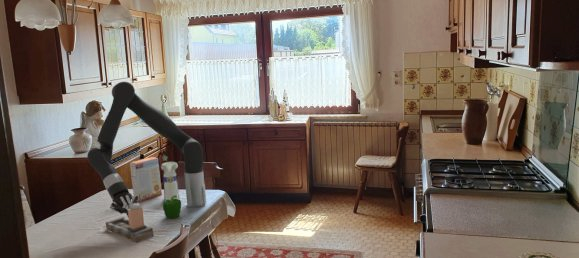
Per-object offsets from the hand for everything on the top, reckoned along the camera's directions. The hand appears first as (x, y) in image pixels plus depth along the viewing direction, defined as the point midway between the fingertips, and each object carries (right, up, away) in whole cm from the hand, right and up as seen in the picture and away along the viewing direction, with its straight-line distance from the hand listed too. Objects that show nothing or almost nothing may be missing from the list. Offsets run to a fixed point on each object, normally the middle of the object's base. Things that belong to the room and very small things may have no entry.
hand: (133, 218), depth 189 cm
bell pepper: (+11, -4, +21) cm, 24 cm away
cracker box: (-11, +1, +53) cm, 54 cm away
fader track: (-3, -7, +4) cm, 9 cm away
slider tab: (+2, -5, -1) cm, 5 cm away
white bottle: (+4, +1, +48) cm, 48 cm away
